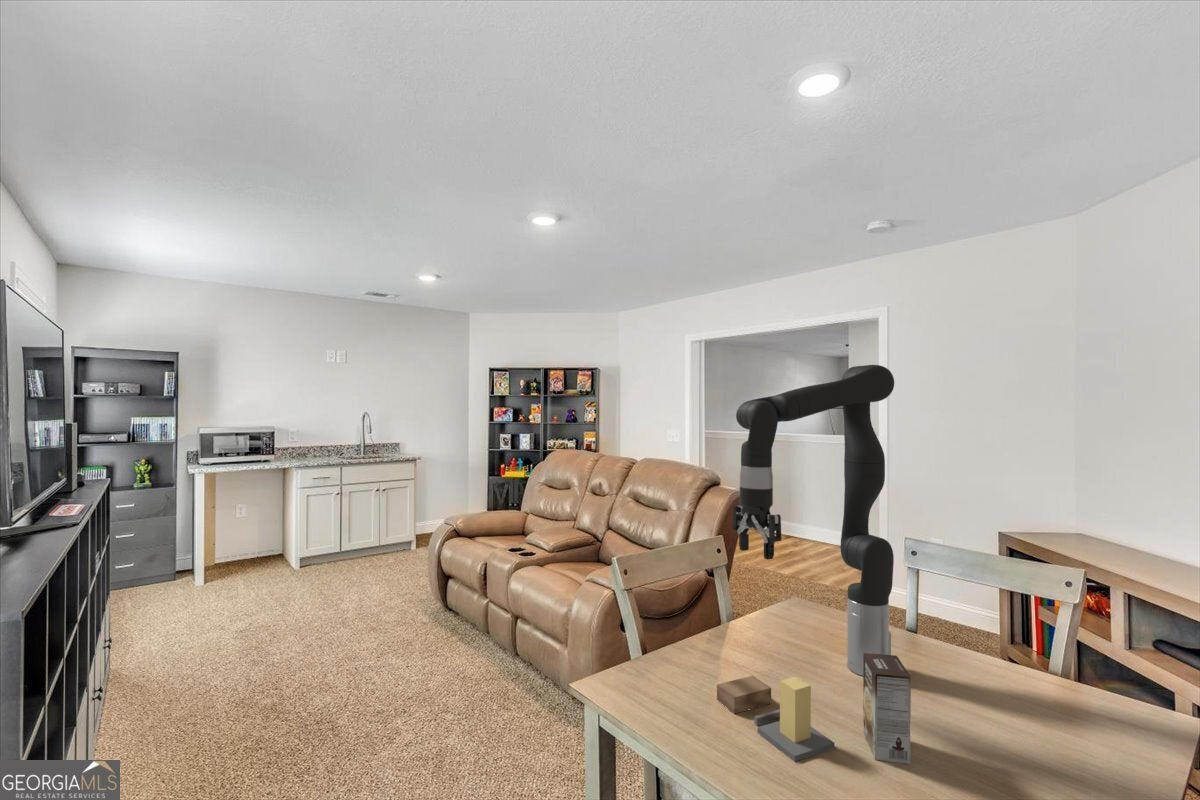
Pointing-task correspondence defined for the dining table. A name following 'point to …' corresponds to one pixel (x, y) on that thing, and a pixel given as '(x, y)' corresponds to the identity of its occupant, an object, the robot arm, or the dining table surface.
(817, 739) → the mat
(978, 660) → the dining table surface
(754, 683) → the block
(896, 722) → the coffee box
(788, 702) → the pale yellow rectangular prism
